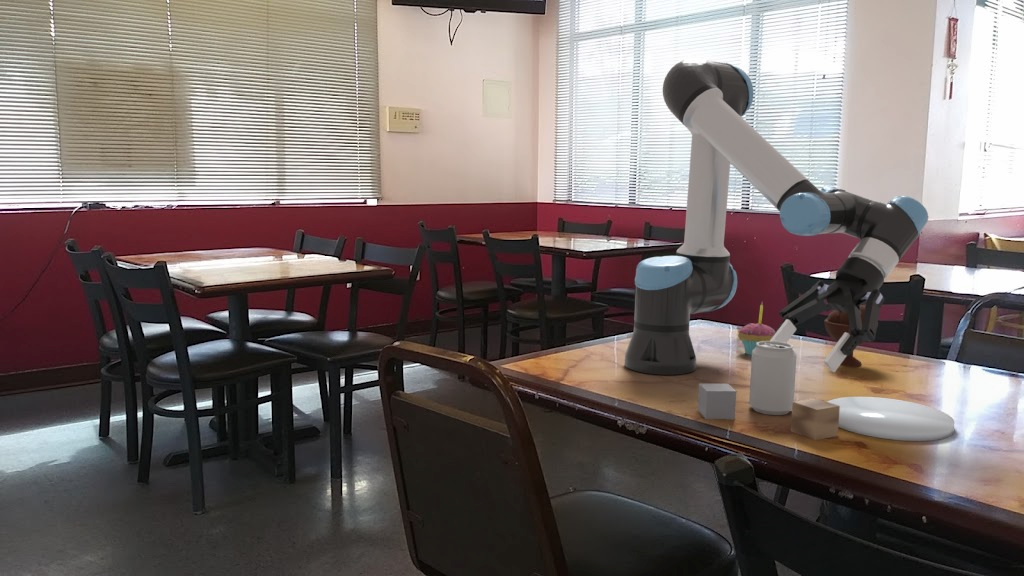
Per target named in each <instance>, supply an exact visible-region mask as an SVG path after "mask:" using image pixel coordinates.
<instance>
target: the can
mask: <svg viewBox="0 0 1024 576" xmlns="http://www.w3.org/2000/svg"><path fill="white" fill-rule="evenodd" d="M756 345H757V347H756V348H755V349H754V350H753V351H752V355H751V359H750V360H751V363H750V364H751V365H750V380H749V381H750V384H749V399H748V404H749V405H750V407H751V408H752V409H753V410H754V411H755V412H756V413H760V414H764V415H772V416H782V415H786V414H789V412H791V411H792V404H793V402H794V401H795V388H796V387H795V386H796V373H797V355H798V354H797V353H796V351H795V350H794V349H793V348H794V345H793V344H791V343H788V342H787V343H785V342H778V341H761V342H757V343H756Z"/></svg>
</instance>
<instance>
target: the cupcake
mask: <svg viewBox="0 0 1024 576" xmlns="http://www.w3.org/2000/svg"><path fill="white" fill-rule="evenodd" d="M763 312H764V304H763V301H761V304H760V305H759V314H758V315H759V316H758V322H757V323H753V322H751V323H747V324H746V325H744V326H742V327H740V328H739V330H738V334H737V338H738V339H739V340H741V343H742V346H743V348H744V353H745V354H747V355H748V356H752V351H753V350H754V349H755V348H756V347H757V345H756V343H757V342H761V341H770V340H771V339H772V337H773V336H774V335H775V331H776V330H775V329H774V328H773V327H771V326H770V325H767V324H763V323H762V319H763Z"/></svg>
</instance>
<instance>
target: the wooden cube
mask: <svg viewBox="0 0 1024 576" xmlns="http://www.w3.org/2000/svg"><path fill="white" fill-rule="evenodd" d="M839 410H840V406H838V405H835V404H832V403H829V402H827V401H825V400H822V399H818V398H816V397H813V398H806V399H801V400H794V402H793V404H792V410H791V421H790V422H791V423H790V424H791V426H790V432H791V433H794V434H798V435H800V436H803V437H806V438H808V439H811V440H813V441H818V440H823V439H824V440H825V439H829V438H834V437H838V436H839V427H838V424H839Z"/></svg>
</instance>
